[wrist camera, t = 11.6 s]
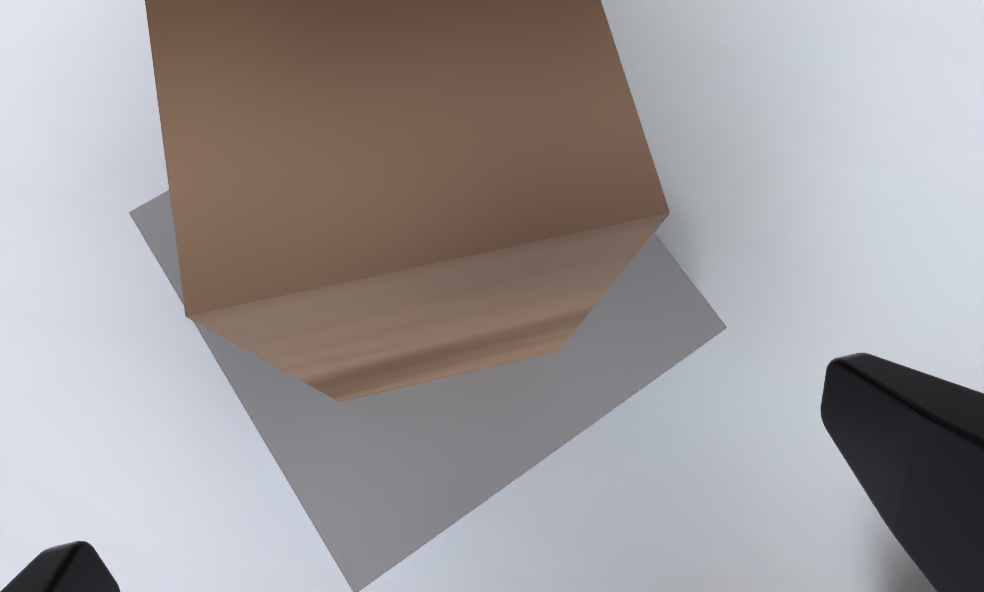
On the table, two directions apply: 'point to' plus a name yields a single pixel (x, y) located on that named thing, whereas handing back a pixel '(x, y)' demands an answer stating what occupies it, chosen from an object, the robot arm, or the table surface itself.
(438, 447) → the slate slab
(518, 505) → the table surface
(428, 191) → the walnut pillar
